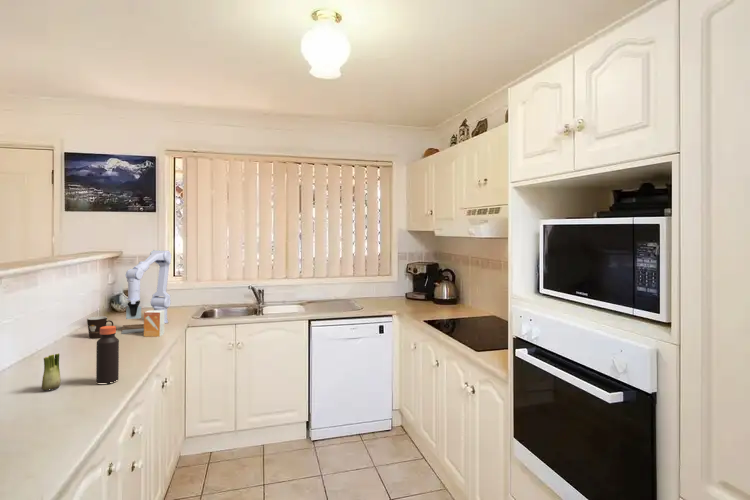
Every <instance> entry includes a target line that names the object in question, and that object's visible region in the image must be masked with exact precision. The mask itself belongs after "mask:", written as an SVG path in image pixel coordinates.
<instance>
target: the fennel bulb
mask: <svg viewBox="0 0 750 500" xmlns="http://www.w3.org/2000/svg"><path fill="white" fill-rule="evenodd" d="M43 367H44V368H43V375H42V380H41V389H42V390H43V391H45V390H49V389H53V390H56V389H55V388H57V389H59V387H60V386H61V381H62V379H61V371H60V370H61V369H60V353H58V352H57V353H55V354H54V353H53V354H50V355H48V356H45V357H43Z"/></svg>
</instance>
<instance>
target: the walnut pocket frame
mask: <svg viewBox="0 0 750 500" xmlns="http://www.w3.org/2000/svg"><path fill="white" fill-rule="evenodd" d="M143 328H144V323H137V324H124V325H122V327H121V331H122V330H129V329H143Z"/></svg>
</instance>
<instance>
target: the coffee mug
mask: <svg viewBox="0 0 750 500" xmlns="http://www.w3.org/2000/svg"><path fill="white" fill-rule="evenodd" d="M107 323H111V326H114V322H113V321H112V320H108V316H103V315H100V316H98V315H97V316H91V317H88V318H86V324H87V330H88V336H89V337H88V338H89V339H90V340H91V339H92V340H96V339H98V340H99V339H100V338H101V336H100V328H101V327H104V326H107Z"/></svg>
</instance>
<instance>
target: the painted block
mask: <svg viewBox="0 0 750 500" xmlns="http://www.w3.org/2000/svg"><path fill="white" fill-rule="evenodd" d="M125 308H126V309H125V320H133V319H134V320H135V319H136V320H138V319H141V318H142V306H138V308H137V313H136V316H131V312H130V308H129V306H126V307H125Z"/></svg>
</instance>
